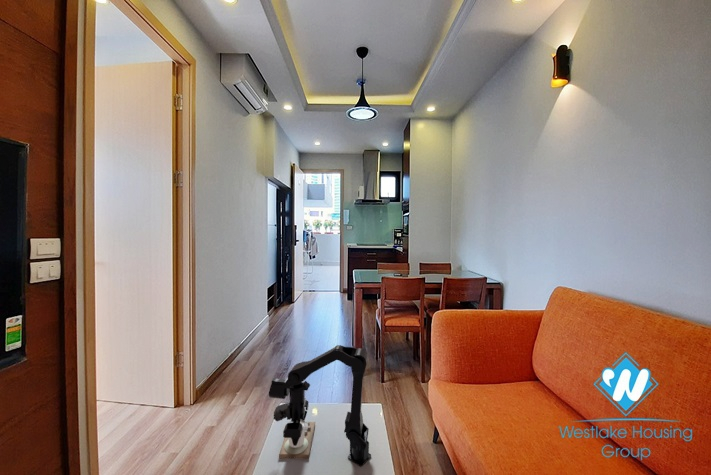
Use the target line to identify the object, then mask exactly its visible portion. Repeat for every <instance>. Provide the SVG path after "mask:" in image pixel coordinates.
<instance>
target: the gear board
mask: <svg viewBox="0 0 711 475" xmlns="http://www.w3.org/2000/svg"><path fill="white" fill-rule="evenodd" d="M305 423H306V425H305V435H304V443H303V445H302V446H300V447H297V448H293V447H291V446H290V445H289V438H284V437H283V441H282V444H281V448H280V449H279V453H278V459H306V460H307V459H309V458H310V454H311V448H312V445H313V439H314V433H315V429H316V421H305Z"/></svg>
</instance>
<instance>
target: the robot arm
mask: <svg viewBox="0 0 711 475" xmlns="http://www.w3.org/2000/svg"><path fill="white" fill-rule="evenodd" d="M368 359H369V352H368V351H367V350H366V349H364V348H357V347H353V346H344V345H341V344H337V345H336V346H334V347H333V348H331V349H329V350H327V351H326V352H323V353H322V354H320V355H318V356H316V357H314V358H312V359H310V360H308V361H302V362H298V363H296V364H295V365H294V366H293V367H292V368H291V369H290V371H289V372H288V374H287V377H286V378H285V379H281V378H277V377H276V378H273V379H272V380H271V384H270V387H269V391H268V396H269V398H270V399H272V398H273V399H281V400H284V399H286V398H287V397H288V396H289V400H288V402H286V403H283V404H280V405H277V406H276V407H275V409H274V411H273V420H275V421H276V422H280V421H283V419H286V420H289V421H291V422H293V421H294V422H293V423H289V422H287V423H286V424H285V426H284V429H283V431H282V432H283V439H284V438H291V439H292V442H293V445H294V446H296V445H297V443H298V440H299V438H300V437H301V434H302V430H303V428H302V424H301V423H300V421H301V419H302V420H304V421H305V419H306V416H307V415H308V414H307V413H308V410H309V401H308V400H307V399H306V397H305V396H306V395H305V394H306V391H307V392H308V390H309V388H310V387H311V384H310V382H308V381H307V380H306V379H307V378H308V377H309V376H311V375H312V374H314V373H315V372H317V371H318V370H320V369H322V368H324V367H326V366H328V365H330V364H332V363H334V362H335V361H339V362H341V363H343V364H344V365H345V366H347V367H350V368H351V373H352V374H351V375H352V378H353V379H352V389H351V391H352V392H351V406H350V411H347V412H346V417H345V420H344V430H343V433H345V437H346V439H347V440H348V441H349V454H348V455H347V459H348V460H350V461H351V462H353V463H355V464H357V465H358V466H359V467H363V466H364V464H366V462H367V461H369V459H370V458H371V457H372V454H371V453H370V452H369V451H370V442H369V441H368V438H369V437H368V435H369V427H368V426H367V425H366V424H365V423H364V419H363V411H362V403H363V388H364V375H365V372H366V368H367V365H368V364H367V363H368Z"/></svg>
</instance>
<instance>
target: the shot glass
mask: <svg viewBox="0 0 711 475" xmlns="http://www.w3.org/2000/svg"><path fill="white" fill-rule="evenodd" d="M293 422H294V421H293ZM293 422H291V420H289V422H288V423H293ZM305 422H306V421H305V420H302V419H301V421H300V423H301V424H302V428H303V430H302V434H301V437H300V438H299V440H298V443H297V445H296V446H294V445H293V442H292V439H291V438H289V445H290V446H291V447H293V448H297V447H300V446H302V445H303V443H304V435H305V425H306V423H305Z"/></svg>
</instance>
